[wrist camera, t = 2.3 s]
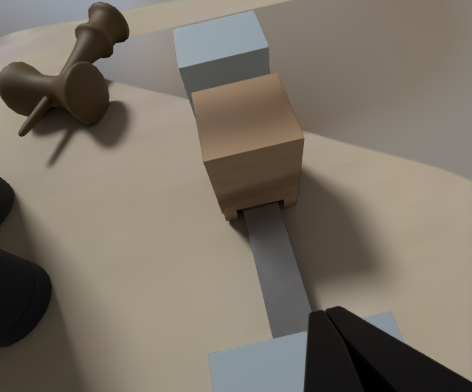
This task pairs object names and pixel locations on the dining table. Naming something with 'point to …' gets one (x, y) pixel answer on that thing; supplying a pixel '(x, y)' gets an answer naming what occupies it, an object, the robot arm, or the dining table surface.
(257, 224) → the rail
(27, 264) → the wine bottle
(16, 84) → the kendama
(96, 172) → the dining table surface
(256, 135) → the block
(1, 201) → the travel mug
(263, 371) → the cabinet
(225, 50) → the end block
